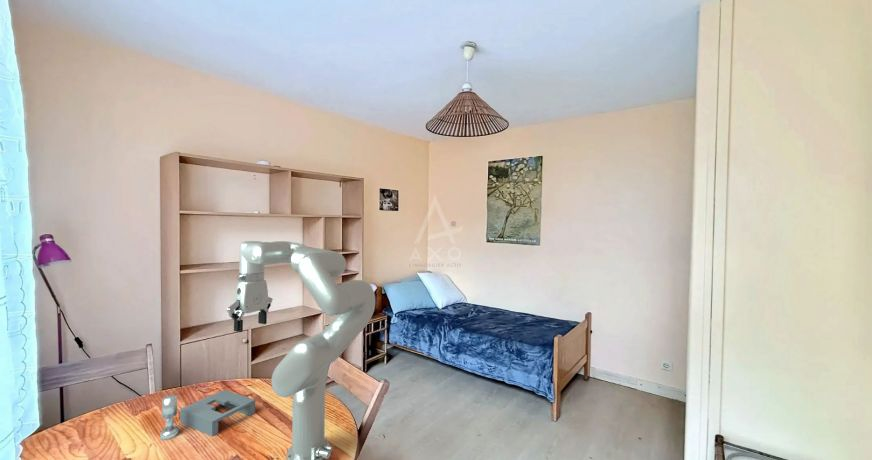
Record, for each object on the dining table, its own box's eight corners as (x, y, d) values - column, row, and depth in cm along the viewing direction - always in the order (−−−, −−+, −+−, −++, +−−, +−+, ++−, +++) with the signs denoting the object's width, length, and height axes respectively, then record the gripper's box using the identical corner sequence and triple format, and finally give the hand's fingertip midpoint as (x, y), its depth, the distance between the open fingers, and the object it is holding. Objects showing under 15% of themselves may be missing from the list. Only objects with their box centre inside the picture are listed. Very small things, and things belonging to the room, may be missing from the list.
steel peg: (181, 433, 117) (181, 395, 116) (165, 441, 112) (165, 402, 112) (173, 430, 119) (173, 392, 118) (157, 437, 114) (157, 398, 114)
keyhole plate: (255, 413, 130) (255, 399, 130) (212, 436, 115) (212, 421, 115) (224, 402, 137) (224, 389, 137) (180, 422, 123) (180, 408, 123)
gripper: (237, 282, 108) (236, 336, 108) (280, 275, 124) (278, 322, 124) (220, 280, 110) (219, 333, 111) (263, 273, 126) (263, 319, 127)
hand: (250, 327), depth 117 cm, fingers open, 9 cm apart
